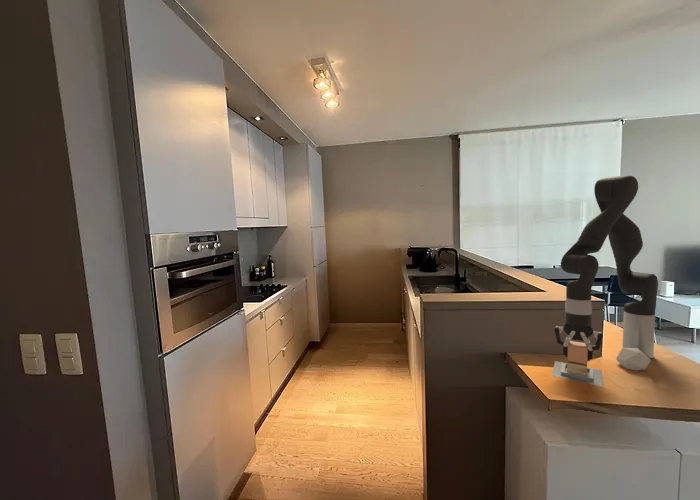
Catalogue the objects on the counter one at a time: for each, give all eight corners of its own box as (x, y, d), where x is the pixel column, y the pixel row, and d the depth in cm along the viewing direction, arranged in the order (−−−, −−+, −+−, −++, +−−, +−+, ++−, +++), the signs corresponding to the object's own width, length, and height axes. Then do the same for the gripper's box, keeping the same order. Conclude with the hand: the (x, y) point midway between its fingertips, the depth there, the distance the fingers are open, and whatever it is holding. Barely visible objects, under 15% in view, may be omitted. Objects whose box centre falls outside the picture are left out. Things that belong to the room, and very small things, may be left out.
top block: (568, 355, 114) (568, 340, 113) (587, 358, 110) (587, 343, 110) (567, 360, 109) (567, 345, 109) (587, 364, 106) (587, 348, 105)
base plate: (555, 364, 120) (555, 358, 120) (601, 373, 111) (601, 367, 111) (551, 379, 109) (551, 372, 109) (603, 390, 100) (603, 384, 100)
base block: (567, 367, 114) (568, 357, 114) (586, 371, 111) (587, 360, 110) (567, 373, 110) (567, 363, 109) (586, 378, 106) (587, 366, 106)
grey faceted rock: (650, 380, 107) (659, 355, 109) (623, 365, 109) (633, 341, 111) (632, 377, 115) (641, 354, 117) (607, 364, 117) (617, 341, 119)
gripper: (604, 311, 107) (603, 358, 108) (554, 306, 116) (553, 350, 117) (605, 316, 101) (604, 367, 102) (552, 310, 110) (552, 357, 111)
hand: (577, 357), depth 110 cm, fingers closed on top block, 5 cm apart
